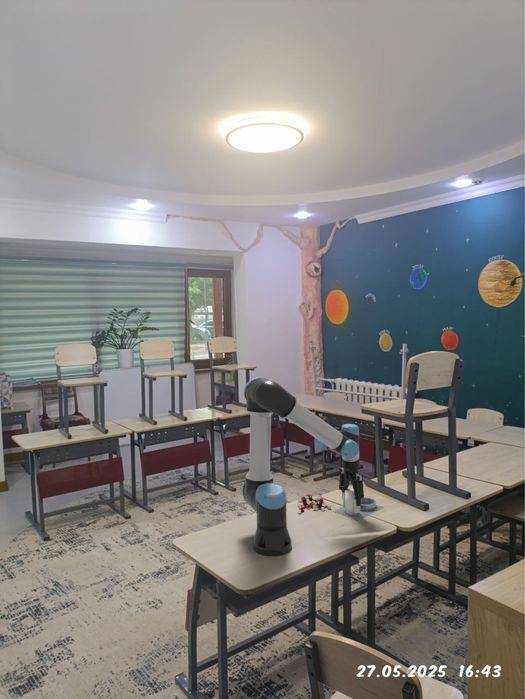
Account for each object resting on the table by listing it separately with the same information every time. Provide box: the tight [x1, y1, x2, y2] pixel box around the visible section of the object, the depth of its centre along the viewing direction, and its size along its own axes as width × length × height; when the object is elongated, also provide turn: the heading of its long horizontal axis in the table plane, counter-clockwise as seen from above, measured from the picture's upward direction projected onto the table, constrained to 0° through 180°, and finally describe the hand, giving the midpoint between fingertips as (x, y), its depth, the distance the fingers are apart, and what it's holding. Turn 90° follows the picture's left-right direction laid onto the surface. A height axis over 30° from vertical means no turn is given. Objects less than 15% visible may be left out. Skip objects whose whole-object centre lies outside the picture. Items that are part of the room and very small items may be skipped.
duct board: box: [332, 503, 385, 521], centre depth 223 cm, size 20×14×1 cm
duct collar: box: [360, 496, 377, 511], centre depth 226 cm, size 10×10×2 cm
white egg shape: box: [345, 488, 358, 515], centre depth 219 cm, size 6×6×10 cm
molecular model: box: [296, 492, 332, 513], centre depth 229 cm, size 10×12×15 cm
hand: (351, 509), depth 219 cm, fingers open, 7 cm apart
